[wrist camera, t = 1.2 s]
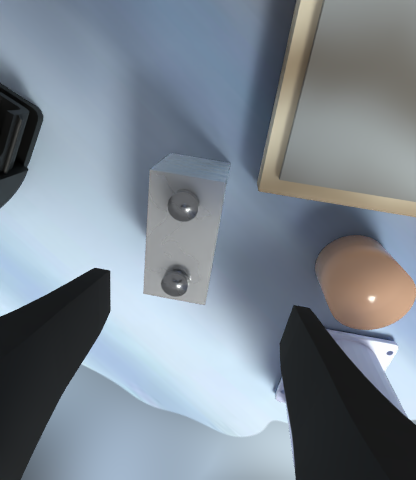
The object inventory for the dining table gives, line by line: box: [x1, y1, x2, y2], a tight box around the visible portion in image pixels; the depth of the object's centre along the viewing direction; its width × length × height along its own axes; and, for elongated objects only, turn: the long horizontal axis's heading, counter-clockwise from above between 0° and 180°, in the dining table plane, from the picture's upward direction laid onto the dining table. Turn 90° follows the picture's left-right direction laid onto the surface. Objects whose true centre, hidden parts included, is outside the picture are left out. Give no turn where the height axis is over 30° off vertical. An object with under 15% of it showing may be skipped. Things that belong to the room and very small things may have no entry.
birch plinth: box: [257, 0, 416, 217], centre depth 15 cm, size 12×12×2 cm
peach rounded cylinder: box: [315, 235, 416, 330], centre depth 20 cm, size 5×5×4 cm
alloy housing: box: [143, 153, 230, 305], centre depth 19 cm, size 8×4×6 cm, turn 172°
